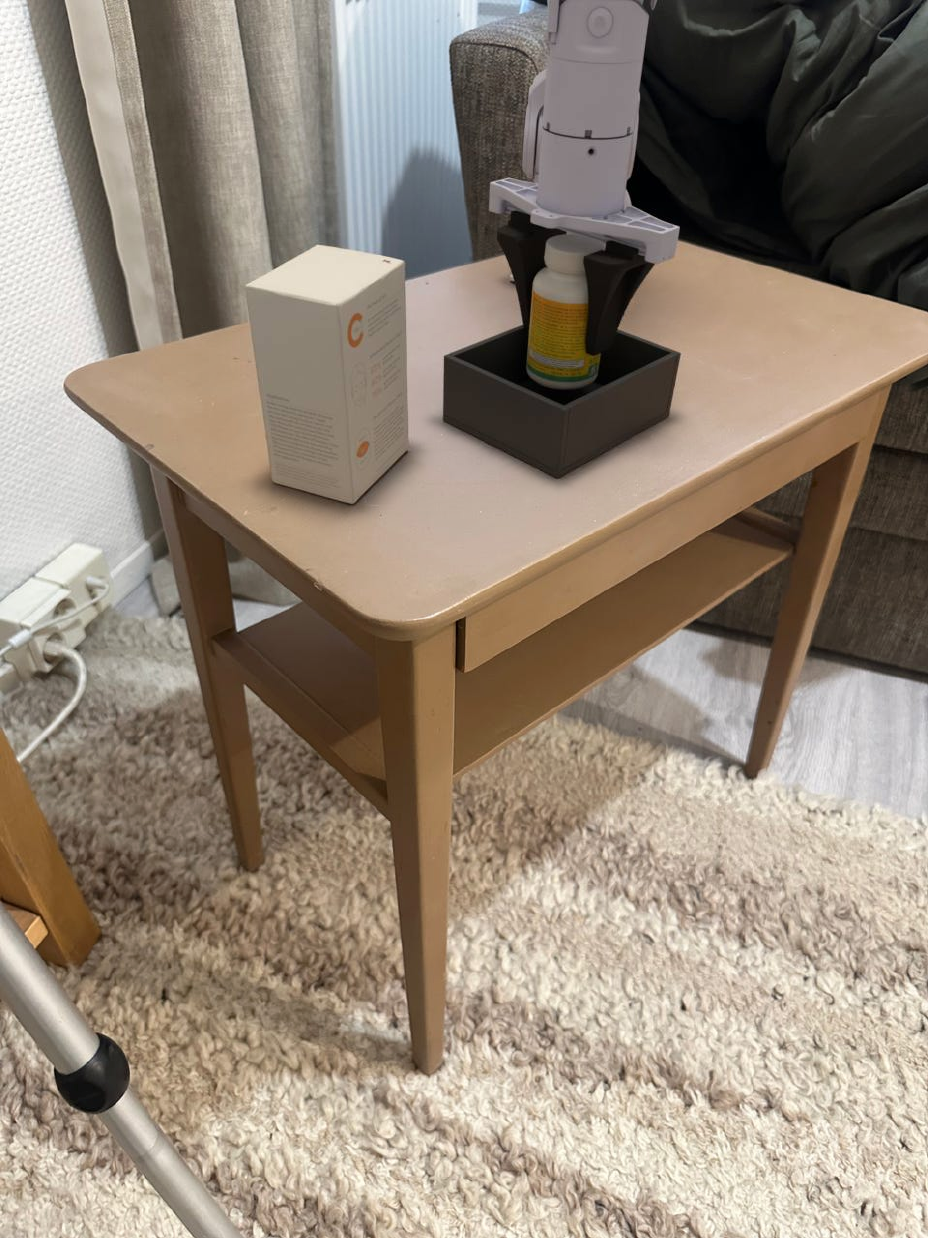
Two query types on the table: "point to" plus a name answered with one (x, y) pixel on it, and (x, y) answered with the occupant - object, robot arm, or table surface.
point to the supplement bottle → (561, 316)
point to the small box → (332, 369)
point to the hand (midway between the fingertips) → (565, 337)
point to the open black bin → (557, 399)
